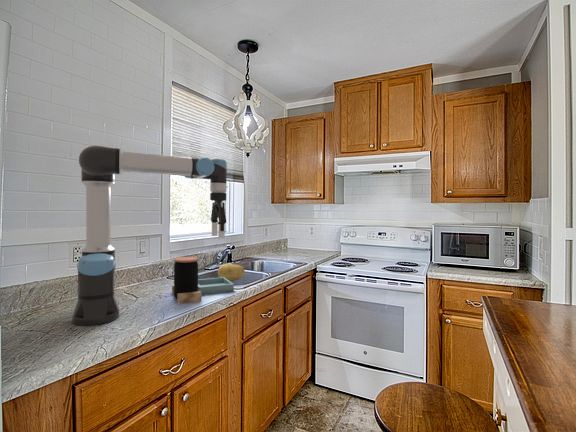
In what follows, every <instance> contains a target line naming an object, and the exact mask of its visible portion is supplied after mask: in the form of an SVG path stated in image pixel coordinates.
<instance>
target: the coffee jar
mask: <svg viewBox="0 0 576 432" xmlns="http://www.w3.org/2000/svg"><path fill="white" fill-rule="evenodd" d="M173 260H174V265H173V278H174V279H173V285H174V294H173V296H174V298H175V299H176V300H177V294H178V293H188V292H198V279H199V263H198V261H199V258H198V257H196V256H183V257H182V256H180V257H176V258H174V259H173Z"/></svg>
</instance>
